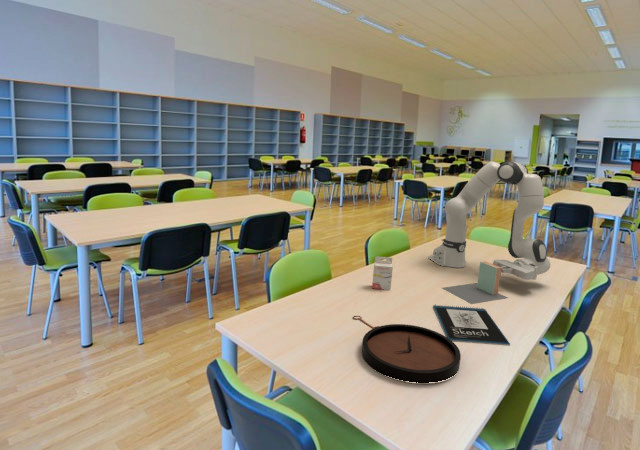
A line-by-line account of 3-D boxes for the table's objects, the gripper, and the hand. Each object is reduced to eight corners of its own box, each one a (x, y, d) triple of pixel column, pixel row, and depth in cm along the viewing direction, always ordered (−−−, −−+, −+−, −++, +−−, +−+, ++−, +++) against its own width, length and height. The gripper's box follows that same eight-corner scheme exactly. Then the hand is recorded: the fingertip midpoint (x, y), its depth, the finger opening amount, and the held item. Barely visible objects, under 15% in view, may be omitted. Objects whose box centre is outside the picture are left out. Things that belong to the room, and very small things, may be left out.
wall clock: (435, 386, 114) (343, 346, 133) (433, 399, 115) (342, 357, 134) (475, 345, 138) (392, 316, 157) (473, 356, 139) (391, 326, 158)
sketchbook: (447, 342, 148) (448, 337, 147) (432, 307, 177) (432, 303, 176) (509, 346, 146) (510, 341, 146) (483, 311, 175) (484, 306, 175)
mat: (441, 289, 198) (441, 287, 197) (476, 284, 206) (476, 282, 206) (471, 305, 180) (471, 304, 180) (508, 299, 188) (508, 297, 188)
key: (387, 332, 154) (362, 316, 166) (387, 329, 153) (362, 313, 166) (375, 334, 150) (350, 317, 163) (375, 332, 150) (351, 315, 163)
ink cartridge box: (372, 289, 194) (374, 259, 190) (372, 285, 198) (374, 255, 195) (390, 290, 193) (393, 260, 190) (390, 286, 198) (392, 257, 194)
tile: (476, 287, 200) (480, 261, 197) (481, 286, 201) (485, 261, 198) (492, 295, 191) (496, 268, 188) (497, 294, 192) (501, 267, 189)
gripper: (505, 255, 211) (485, 257, 205) (541, 267, 193) (519, 270, 187) (504, 267, 212) (483, 269, 207) (538, 280, 194) (517, 283, 189)
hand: (501, 270), depth 197 cm, fingers closed
